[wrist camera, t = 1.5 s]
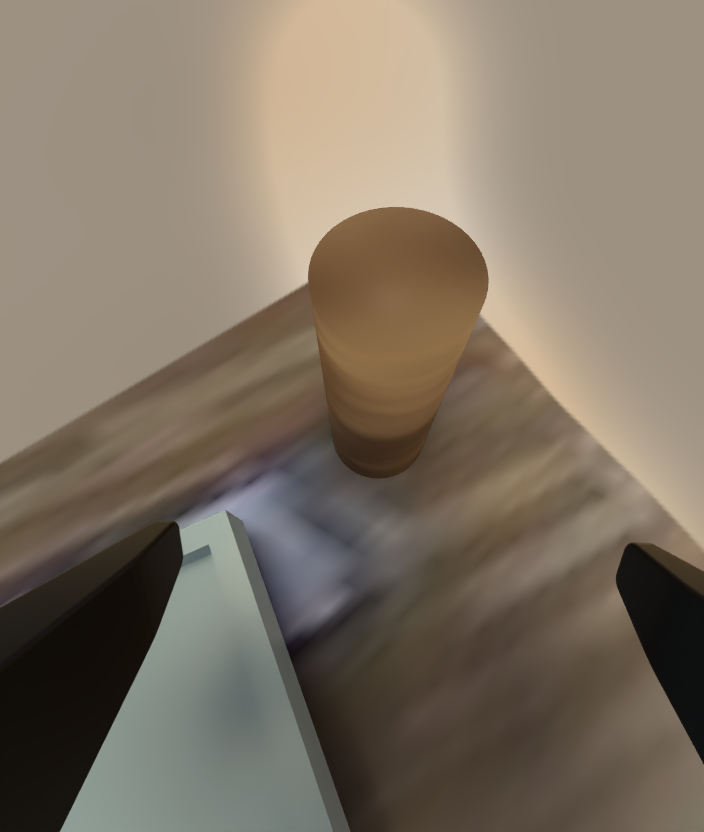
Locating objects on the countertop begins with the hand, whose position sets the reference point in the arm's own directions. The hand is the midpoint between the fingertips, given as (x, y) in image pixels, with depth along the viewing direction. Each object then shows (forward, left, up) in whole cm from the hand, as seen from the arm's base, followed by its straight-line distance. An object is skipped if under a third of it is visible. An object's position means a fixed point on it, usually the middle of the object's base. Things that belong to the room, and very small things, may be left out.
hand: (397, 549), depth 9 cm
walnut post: (+7, -3, -13) cm, 15 cm away
